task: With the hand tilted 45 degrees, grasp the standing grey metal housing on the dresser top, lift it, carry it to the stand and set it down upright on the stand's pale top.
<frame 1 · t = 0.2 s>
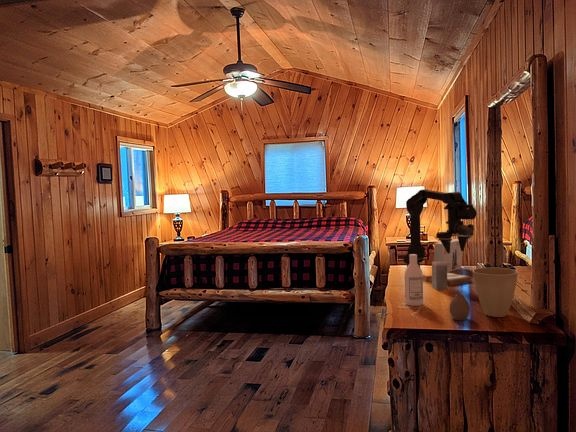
hand: (455, 252, 222), 15 cm above the table, tool pointing down, fingers open, 9 cm apart
stand: (448, 281, 228), on the table
plant pot: (495, 314, 172), on the table
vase: (459, 319, 168), on the table
housing: (439, 288, 215), on the table
skincare box: (448, 270, 254), on the table
bath foam: (414, 304, 190), on the table
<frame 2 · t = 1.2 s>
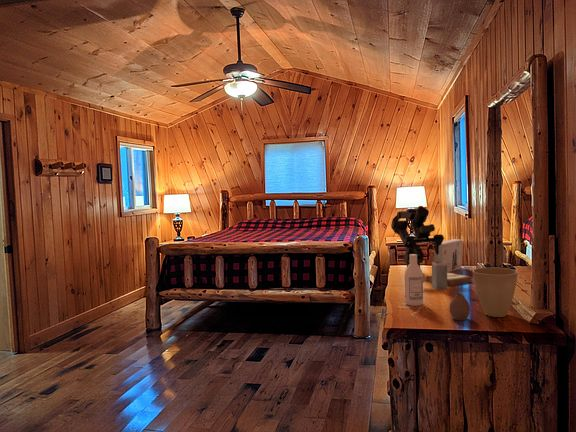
hand: (428, 254, 226), 13 cm above the table, tool tilted 45°, fingers open, 9 cm apart
nothing on the table moved.
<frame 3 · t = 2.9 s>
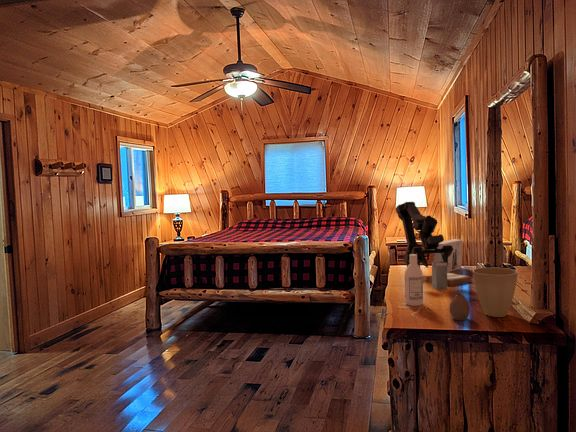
hand: (437, 266, 216), 10 cm above the table, tool tilted 45°, fingers open, 9 cm apart
nothing on the table moved.
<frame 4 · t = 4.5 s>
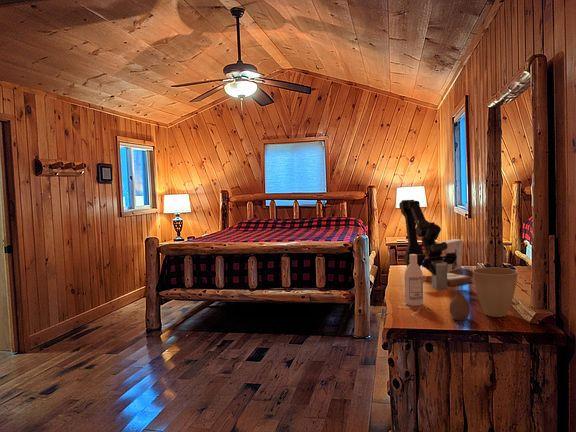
hand: (440, 274, 213), 7 cm above the table, tool tilted 45°, fingers closed on housing, 5 cm apart
housing: (439, 288, 215), on the table, touching gripper
everything else where it was.
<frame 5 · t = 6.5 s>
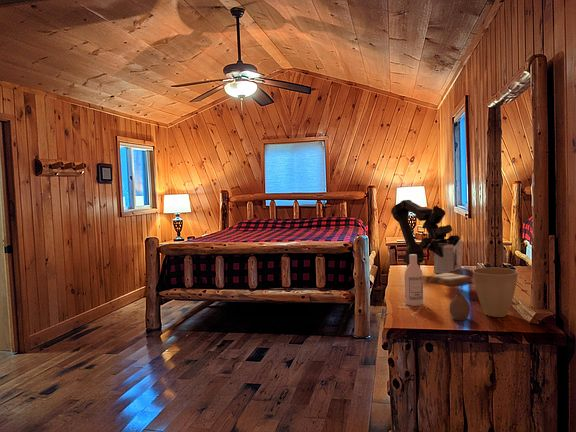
hand: (447, 256, 218), 14 cm above the table, tool tilted 45°, fingers closed on housing, 5 cm apart
housing: (445, 270, 220), point 7 cm above the table, touching gripper
everything else where it was.
when the fingers open (10 cm above the table, at t = 8.4 s): housing stays where it is, resting on stand.
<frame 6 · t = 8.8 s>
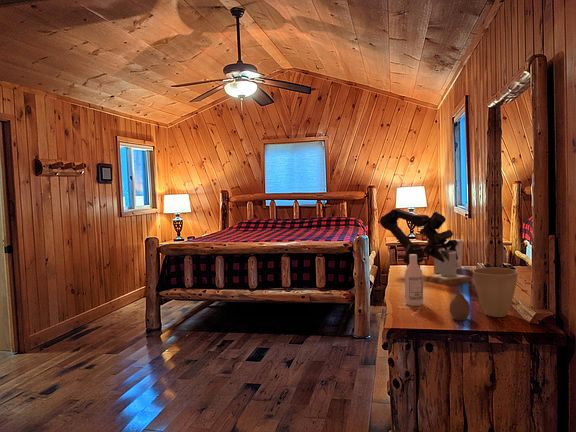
hand: (450, 260, 226), 10 cm above the table, tool tilted 45°, fingers open, 9 cm apart
housing: (448, 275, 227), point 3 cm above the table, touching stand
everything else where it was.
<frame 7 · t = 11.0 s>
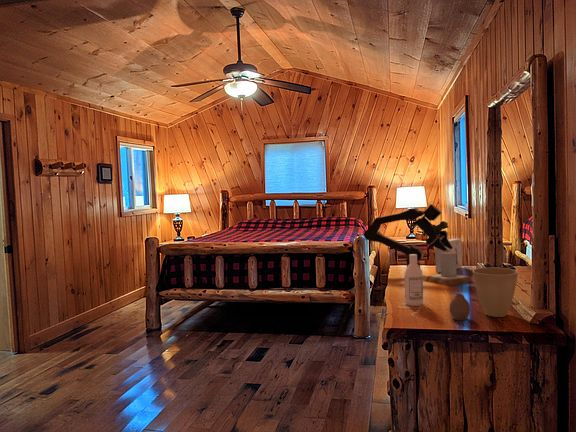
hand: (449, 249, 236), 14 cm above the table, tool tilted 45°, fingers open, 8 cm apart
skincare box: (449, 270, 255), on the table, touching gripper
everything else where it was.
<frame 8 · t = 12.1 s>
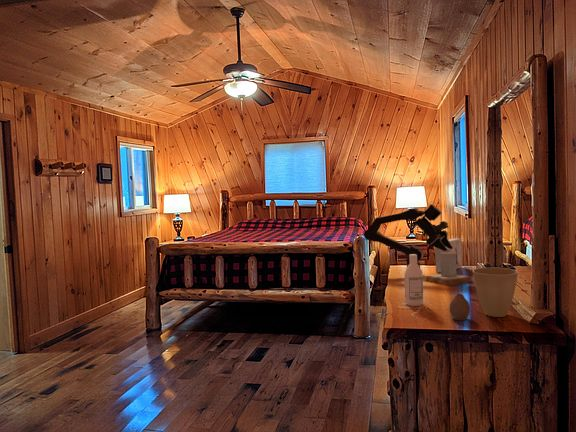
hand: (449, 249, 237), 14 cm above the table, tool tilted 45°, fingers open, 8 cm apart
nothing on the table moved.
at the end: housing inside the target area on the stand (0.0 cm from its centre), point 2.7 cm above the stand's base; housing tilted 0°; the gripper is holding nothing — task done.
